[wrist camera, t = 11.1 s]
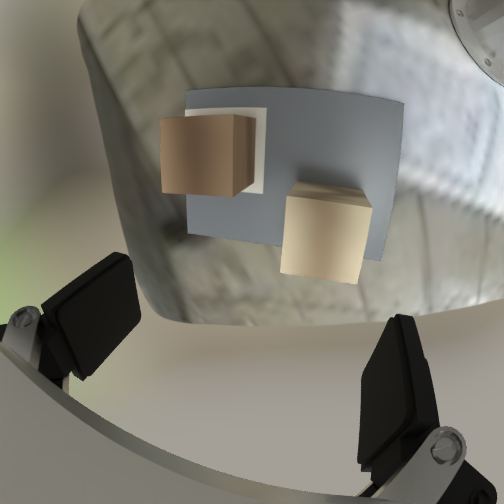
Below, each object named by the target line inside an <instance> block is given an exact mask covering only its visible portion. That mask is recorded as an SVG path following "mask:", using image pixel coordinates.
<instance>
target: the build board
mask: <svg viewBox="0 0 504 504" xmlns="http://www.w3.org/2000/svg"><path fill="white" fill-rule="evenodd" d="M403 112H404V103H400V102H395V101H391V100H386V99H381V98H376V97H370V96H364V95H358V94H352V93H344V92H337V91H328V90H318V89H306V88H289V87H227V88H210V89H198V90H188V91H186V110H185V116H200V115H225V114H235V115H241V116H247V117H253V118H256V140H255V174H254V183H253V184H251V185H250V186H249V187H247V188H246V189H244V190H243V191H241V192H240V193H238V194H237V195H235V196H234V197H233V198H232V197H220V196H206V195H191V194H186V203H187V224H188V233H190V234H198V235H205V236H212V237H219V238H227V239H234V240H241V241H248V242H255V243H262V244H269V245H276V246H283V235H284V223H285V210H286V197H287V195H288V193H289V192H290V190H291V189H292V187H293V186H294V184H295V183H296V181H299V182H307V183H315V184H323V185H330V186H338V187H344V188H351V189H357V190H363V191H364V193H365V195H366V197H367V199H368V200H369V202H370V204H371V206H372V208H373V209H372V215H371V221H370V226H369V231H368V236H367V241H366V246H365V251H364V256H363V259H370V260H376V261H381V258H382V254H383V250H384V245H385V241H386V236H387V232H388V227H389V222H390V217H391V212H392V206H393V201H394V195H395V188H396V182H397V175H398V167H399V159H400V150H401V140H402V128H403Z"/></svg>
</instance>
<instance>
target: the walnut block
mask: <svg viewBox="0 0 504 504" xmlns="http://www.w3.org/2000/svg"><path fill="white" fill-rule="evenodd" d="M255 140H256V118H253V117H247V116H241V115H235V114H225V115H200V116H185V117H174V118H163V119H160V157H161V180H162V193H174V194H191V195H206V196H220V197H232V198H233V197H234V196H235V195H237V194H238V193H240V192H241V191H243V190H244V189H246V188H247V187H249V186H250V185H251V184H253V183H254V174H255Z"/></svg>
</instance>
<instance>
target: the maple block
mask: <svg viewBox="0 0 504 504" xmlns="http://www.w3.org/2000/svg"><path fill="white" fill-rule="evenodd" d="M372 209H373V208H372V206H371V204H370V202H369V200H368V199H367V197H366V195H365V193H364V191H363V190H357V189H351V188H344V187H338V186H330V185H323V184H315V183H307V182H299V181H296V183H295V184H294V186H293V187H292V189H291V190H290V192H289V193H288V195H287V197H286V210H285V223H284V235H283V247H282V258H281V269H280V273H286V274H292V275H298V276H305V277H311V278H318V279H324V280H331V281H338V282H344V283H351V284H357V281H358V277H359V273H360V269H361V265H362V260H363V256H364V251H365V246H366V241H367V236H368V231H369V226H370V221H371V215H372Z"/></svg>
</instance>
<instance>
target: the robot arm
mask: <svg viewBox="0 0 504 504" xmlns="http://www.w3.org/2000/svg"><path fill="white" fill-rule="evenodd" d="M449 8H450V15H451V19H452V22H453V25H454V27H455V30H456V32H457V34H458V36H459V38H460V40H461V41H462V43H463V45H464V47H465V48H466V49H467V51H468V52H469V54H470V55H471V57H472V58H473V59H474V60H475V61H476V63H477V64H478V65H479V66H480V67H481V68H482V69H483V70H484V71H485V72H486V73H487V74H488V75H489V76H490V77H491V78H492V79H494V80H495V81H496V82H497V83H499V84H501V85H502V86H504V0H450V6H449ZM41 307H42V309H43V312H44V314H42V315H41V313H40V311H39V309H38V308H37V307H34V306H25V307H22V308H20V309H18V310H17V311H15V312H14V313H13V314H12V316H11V318H10V319H9V322H8V324H3V325H0V504H496V502H497V492H496V489H495V487H494V486H493V484H492V483H490V482H489V481H488V480H487V479H486V478H485V477H484V476H483V475H481V474H480V473H479V472H478V471H477V470H476V469H474V468H473V467H472V466H471V465H470V464H469V463H468V462H467V461H466V460H464V458H465V455H466V448H467V447H466V442H465V440H464V438H463V436H462V434H460V432H458V430H456V429H454V428H452V427H448V426H444V427H440V423H439V417H438V410H437V404H436V399H435V393H434V388H433V383H432V379H431V374H430V370H429V366H428V362H427V360H426V359H425V357H424V353H423V349H422V346H421V342H420V338H419V334H418V331H417V327H416V324H415V321H414V318H413V317H412V316H408V315H402V314H396V315H395V317H394V318H393V317H390V318H389V320H388V322H387V324H386V327H385V329H384V331H383V333H382V335H381V337H380V339H379V341H378V344H377V346H376V348H375V350H374V352H373V354H372V356H371V358H370V360H369V361H368V363H367V365H366V367H365V369H364V371H363V374H362V378H361V411H360V413H361V414H360V431H359V445H358V456H357V462H358V463H359V464H361V472H371V481H372V482H370V484H368V485H367V486H366V487H365V488H364V489H363V490H362V491H361V492H360V493H359V494H357V495H356V496H355V497H353V496H341V495H330V494H320V493H312V492H306V491H299V490H294V489H288V488H282V487H277V486H272V485H267V484H263V483H259V482H254V481H250V480H247V479H243V478H239V477H236V476H232V475H229V474H226V473H222V472H219V471H216V470H213V469H210V468H207V467H205V466H202V465H199V464H196V463H194V462H191V461H188V460H186V459H183V458H181V457H178V456H176V455H174V454H171V453H169V452H167V451H164V450H162V449H160V448H158V447H156V446H154V445H152V444H149V443H147V442H145V441H143V440H141V439H140V438H138V437H136V436H134V435H132V434H130V433H128V432H126V431H124V430H123V429H121V428H119V427H117V426H115V425H114V424H112V423H110V422H109V421H107V420H105V419H104V418H102V417H101V416H99V415H97V414H96V413H94V412H93V411H91V410H90V409H88V408H87V407H85V406H83V405H82V404H81V403H79V402H78V401H76V400H75V399H73V398H72V397H71V396H69V373H70V372H71V371H72V373H73V374H74V376H76V377H77V378H79V379H80V380H82V381H84V380H85V379H86V377H87V376H91V375H92V374H93V373H94V372H95V370H96V369H97V368H98V367H99V366H100V365H101V364H102V363H103V362H104V360H105V359H106V358H107V357H108V356H109V355H110V354H111V353H112V351H113V350H114V349H115V348H116V347H117V346H118V345H119V344H120V343H121V342H122V340H123V339H124V338H125V337H126V336H127V335H128V334H129V333H130V332H131V331H132V329H133V328H134V327H135V326H136V325H137V324H138V323H139V322H140V319H141V311H140V305H139V300H138V295H137V289H136V283H135V277H134V271H133V264H132V261H131V260H130V258H129V256H128V255H126V254H122V253H119V252H113V253H112V254H110V255H109V256H107V257H106V258H104V259H103V260H101V261H100V262H98V263H97V264H95V265H94V266H93V267H91V268H90V269H88V270H87V271H85V272H84V273H83V274H81V275H80V276H79V277H77V278H76V279H74V280H73V281H72V282H70V283H69V284H68V285H66V286H65V287H64V288H62V289H61V290H60V291H58V292H57V293H56V294H54V295H53V296H52V297H50V298H49V299H48V300H46V301H45V302H44V303H43V304H41Z"/></svg>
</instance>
